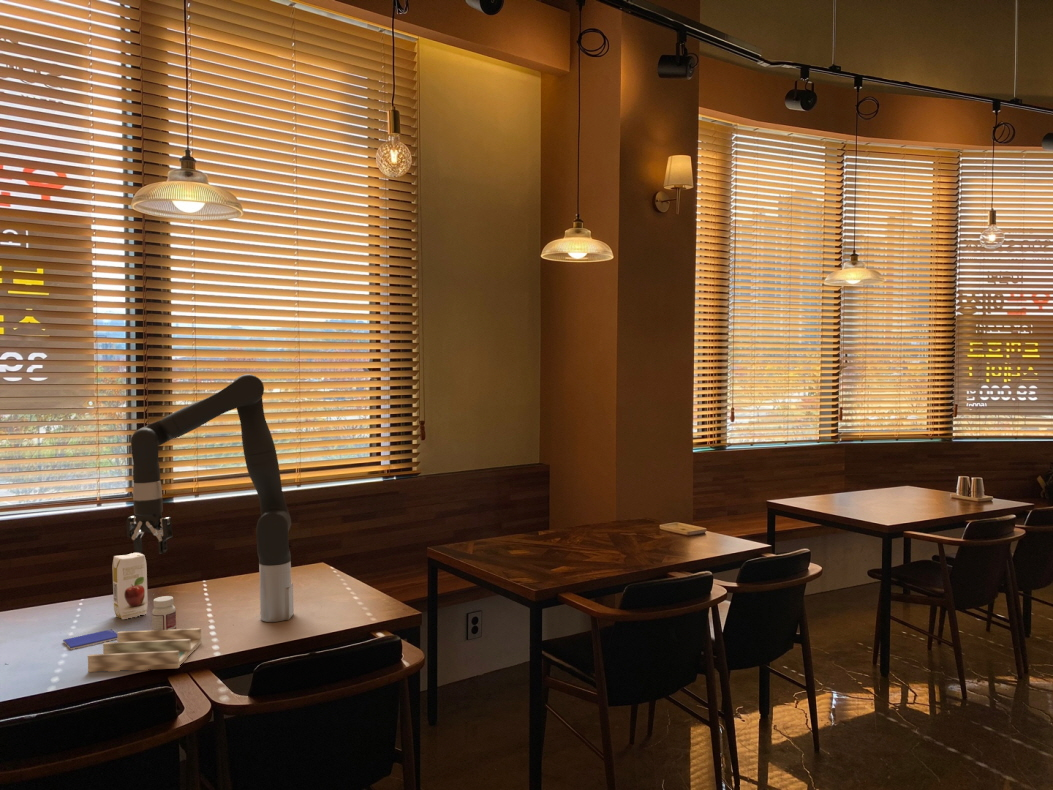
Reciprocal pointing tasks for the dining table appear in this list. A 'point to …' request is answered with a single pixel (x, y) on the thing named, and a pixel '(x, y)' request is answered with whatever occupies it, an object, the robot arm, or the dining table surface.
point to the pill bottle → (164, 613)
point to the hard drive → (90, 639)
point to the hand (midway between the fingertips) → (150, 552)
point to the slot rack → (146, 650)
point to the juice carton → (130, 585)
